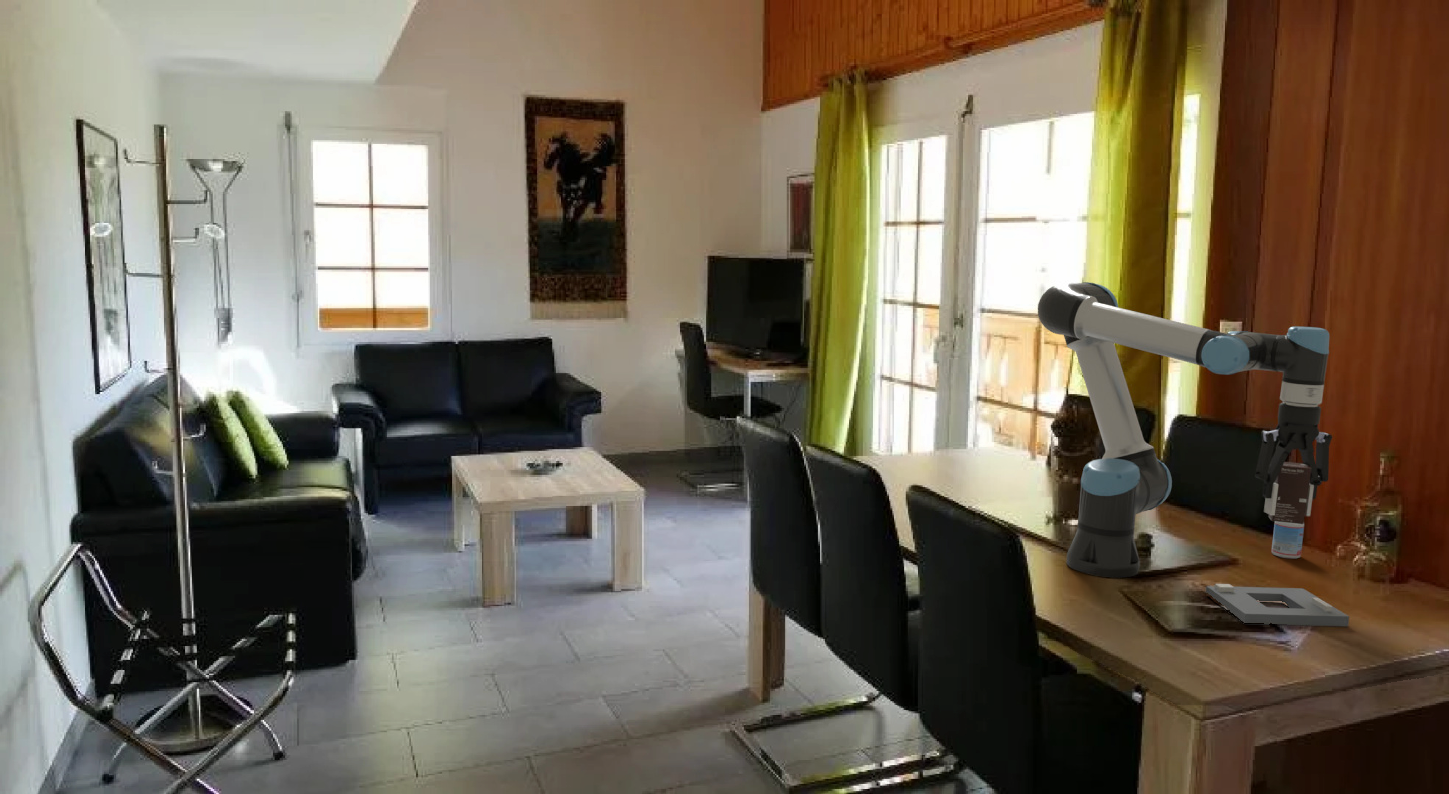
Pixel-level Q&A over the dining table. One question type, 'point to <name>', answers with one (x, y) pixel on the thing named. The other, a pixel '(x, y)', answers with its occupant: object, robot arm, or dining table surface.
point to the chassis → (1300, 609)
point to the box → (1292, 493)
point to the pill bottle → (1287, 539)
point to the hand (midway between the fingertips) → (1286, 513)
